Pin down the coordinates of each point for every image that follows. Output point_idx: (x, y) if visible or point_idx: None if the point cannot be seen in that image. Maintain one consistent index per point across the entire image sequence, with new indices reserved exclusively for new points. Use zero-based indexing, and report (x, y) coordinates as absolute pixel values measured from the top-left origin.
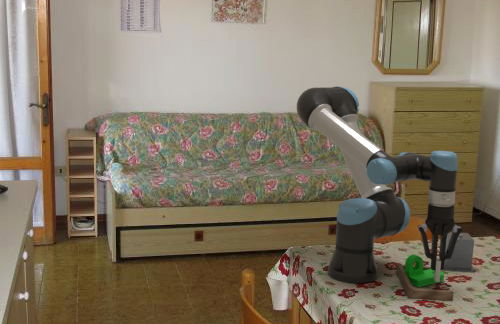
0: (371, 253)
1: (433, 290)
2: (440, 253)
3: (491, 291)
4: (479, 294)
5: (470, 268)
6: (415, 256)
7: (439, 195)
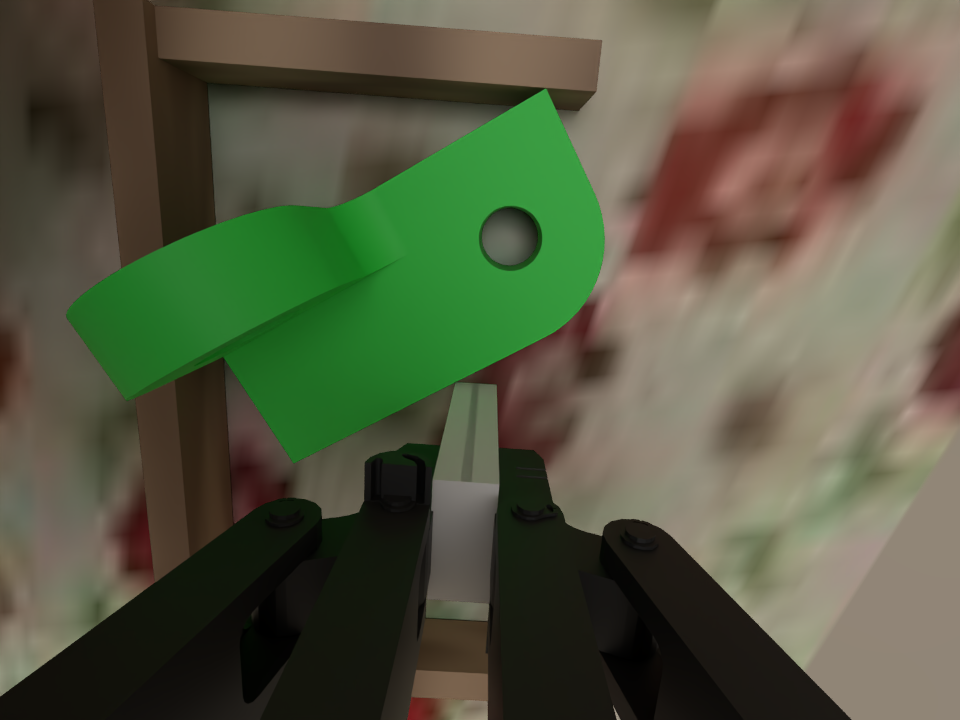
0: None
1: None
2: (491, 636)
3: (907, 460)
4: (774, 525)
5: None
6: (156, 367)
7: None
